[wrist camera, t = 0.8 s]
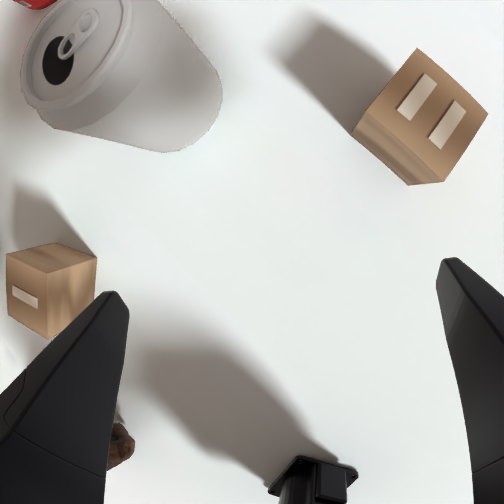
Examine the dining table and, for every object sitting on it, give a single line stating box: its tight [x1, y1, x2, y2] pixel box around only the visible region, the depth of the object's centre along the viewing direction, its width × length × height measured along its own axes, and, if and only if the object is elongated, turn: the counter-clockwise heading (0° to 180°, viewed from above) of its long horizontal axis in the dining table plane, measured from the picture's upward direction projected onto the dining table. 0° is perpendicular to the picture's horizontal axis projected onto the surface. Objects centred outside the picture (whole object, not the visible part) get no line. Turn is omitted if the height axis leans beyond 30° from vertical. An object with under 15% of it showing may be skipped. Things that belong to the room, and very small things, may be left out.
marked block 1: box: [350, 48, 488, 186], centre depth 15 cm, size 5×5×6 cm
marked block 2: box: [6, 243, 97, 339], centre depth 22 cm, size 5×5×6 cm
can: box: [20, 0, 222, 153], centre depth 15 cm, size 8×8×12 cm
